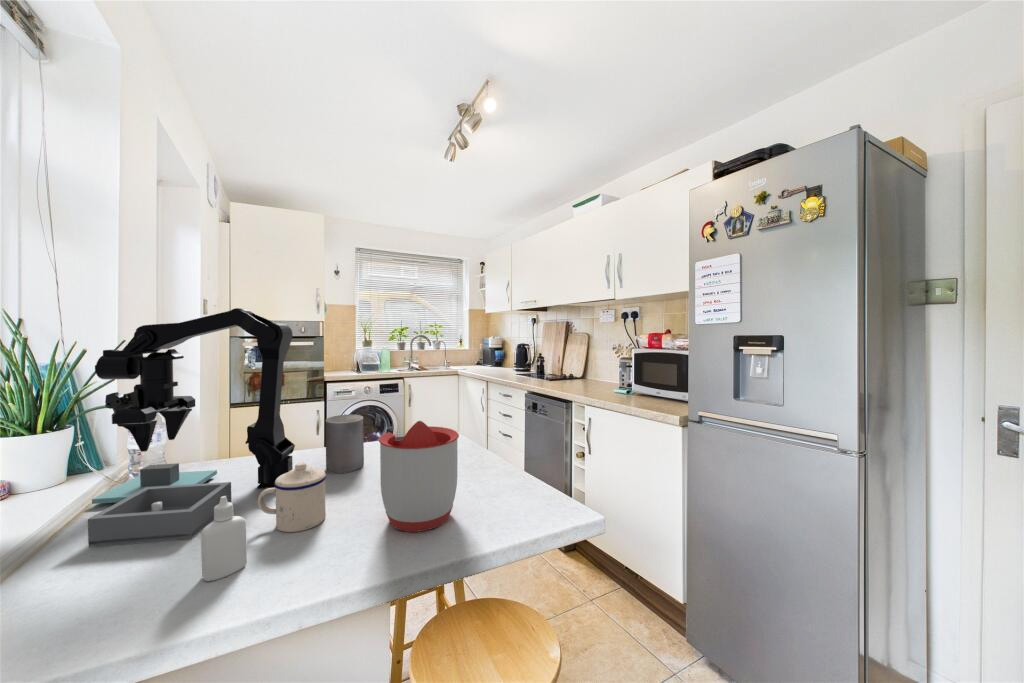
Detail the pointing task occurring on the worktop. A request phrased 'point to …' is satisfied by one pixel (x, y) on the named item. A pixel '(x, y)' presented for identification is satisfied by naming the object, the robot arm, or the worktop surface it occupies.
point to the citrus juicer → (419, 476)
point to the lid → (154, 481)
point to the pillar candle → (344, 443)
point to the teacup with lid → (298, 499)
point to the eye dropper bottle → (223, 543)
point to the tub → (157, 514)
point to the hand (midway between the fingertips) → (158, 445)
